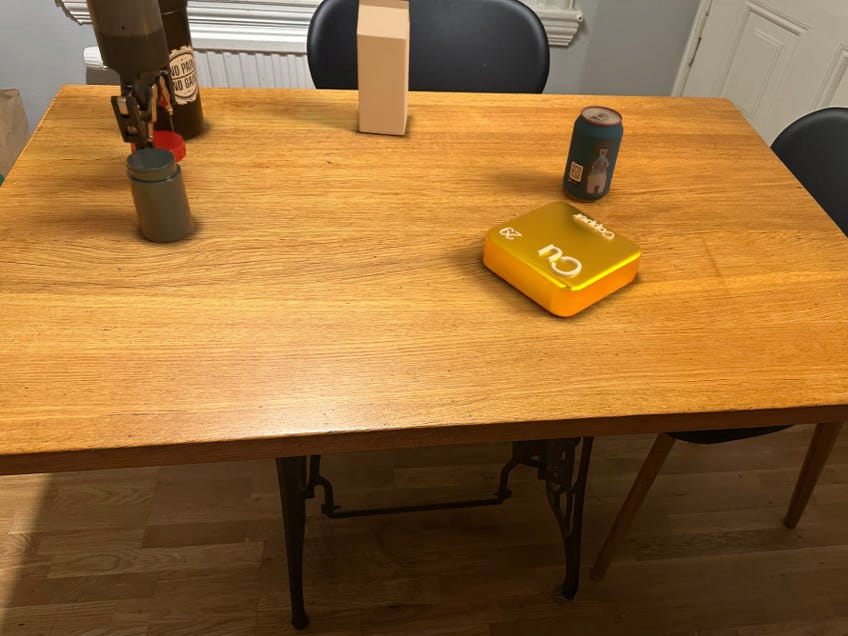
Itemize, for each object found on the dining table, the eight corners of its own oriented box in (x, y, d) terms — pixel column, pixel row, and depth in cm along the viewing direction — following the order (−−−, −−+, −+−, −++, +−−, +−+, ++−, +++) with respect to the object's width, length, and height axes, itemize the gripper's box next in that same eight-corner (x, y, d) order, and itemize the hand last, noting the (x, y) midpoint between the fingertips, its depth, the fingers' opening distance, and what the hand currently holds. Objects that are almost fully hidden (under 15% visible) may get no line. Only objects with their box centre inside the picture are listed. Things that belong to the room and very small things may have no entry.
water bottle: (173, 150, 101) (134, -24, 85) (123, 129, 104) (77, -43, 88) (225, 127, 108) (198, -39, 92) (177, 107, 111) (143, -56, 95)
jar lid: (196, 153, 94) (194, 140, 92) (158, 171, 89) (155, 158, 88) (161, 139, 96) (158, 126, 94) (122, 156, 91) (118, 143, 90)
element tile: (640, 277, 89) (650, 246, 85) (562, 323, 81) (570, 290, 77) (555, 224, 96) (561, 193, 93) (475, 261, 88) (479, 228, 85)
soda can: (581, 176, 107) (597, 99, 99) (616, 195, 104) (636, 117, 96) (551, 189, 103) (566, 110, 95) (587, 209, 100) (606, 130, 92)
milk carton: (404, 136, 111) (406, 9, 98) (359, 132, 110) (356, 4, 98) (407, 117, 116) (410, -6, 103) (364, 113, 116) (362, -11, 103)
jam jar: (135, 241, 84) (114, 168, 78) (151, 214, 89) (132, 144, 82) (186, 244, 85) (169, 173, 78) (199, 218, 89) (185, 148, 83)
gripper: (139, 46, 76) (171, 183, 87) (179, 5, 87) (203, 132, 98) (68, 40, 76) (110, 179, 87) (116, -1, 86) (148, 128, 97)
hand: (159, 154), depth 92 cm, fingers closed on jar lid, 6 cm apart
